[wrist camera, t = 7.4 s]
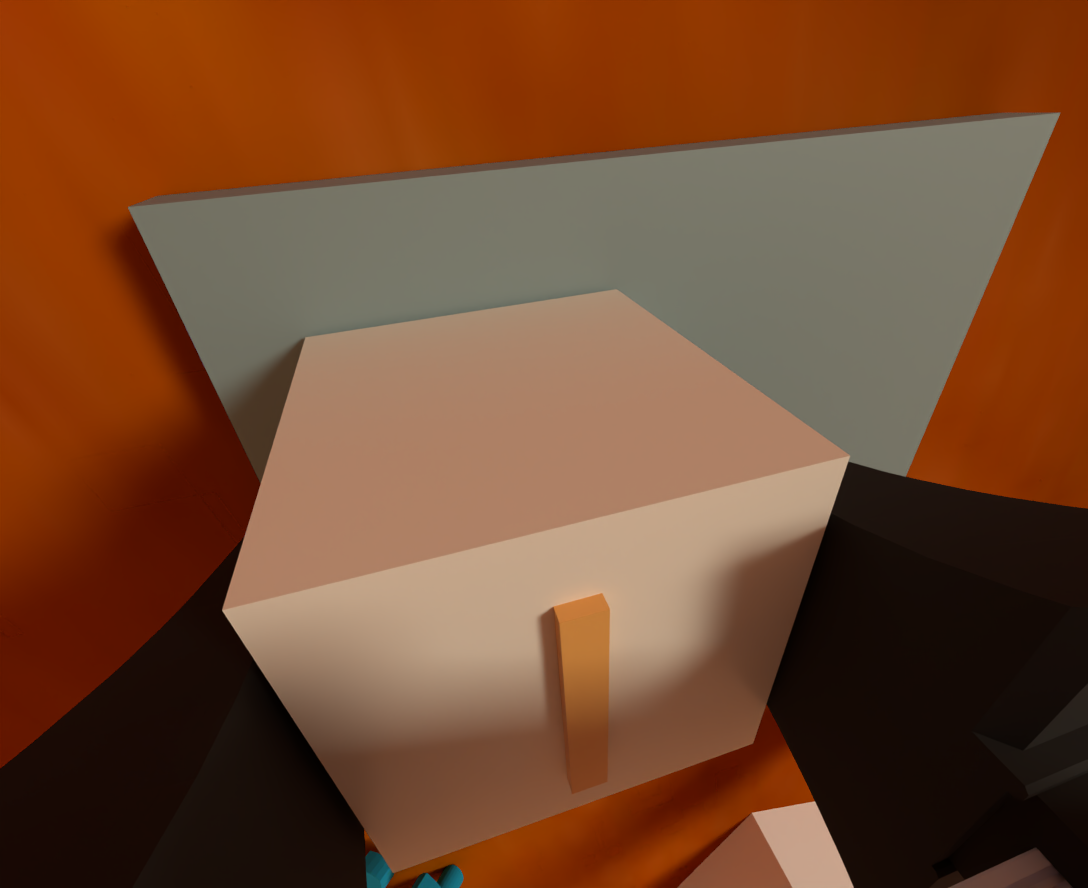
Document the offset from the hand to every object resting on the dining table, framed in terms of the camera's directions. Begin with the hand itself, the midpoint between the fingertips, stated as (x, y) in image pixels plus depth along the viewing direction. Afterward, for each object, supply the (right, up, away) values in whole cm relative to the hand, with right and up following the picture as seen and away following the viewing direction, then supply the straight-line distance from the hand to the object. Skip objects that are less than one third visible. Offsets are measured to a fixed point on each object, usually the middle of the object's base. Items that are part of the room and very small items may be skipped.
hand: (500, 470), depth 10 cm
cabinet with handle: (0, +1, +1) cm, 1 cm away
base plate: (+4, -2, +5) cm, 7 cm away
